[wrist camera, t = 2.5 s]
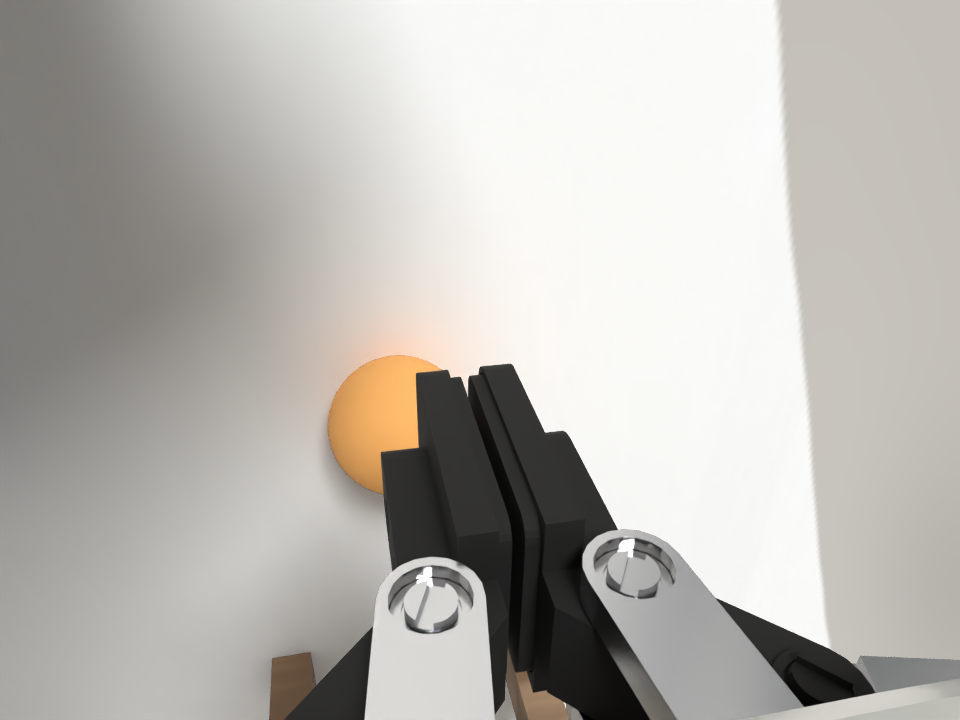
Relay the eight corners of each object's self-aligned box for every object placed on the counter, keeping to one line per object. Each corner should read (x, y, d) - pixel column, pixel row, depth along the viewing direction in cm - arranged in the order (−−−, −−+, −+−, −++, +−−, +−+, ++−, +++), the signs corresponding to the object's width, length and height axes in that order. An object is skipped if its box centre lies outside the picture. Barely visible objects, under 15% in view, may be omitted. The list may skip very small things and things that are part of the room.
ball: (319, 337, 29) (322, 415, 24) (454, 325, 30) (482, 398, 25) (332, 446, 32) (337, 535, 27) (455, 432, 33) (480, 515, 28)
